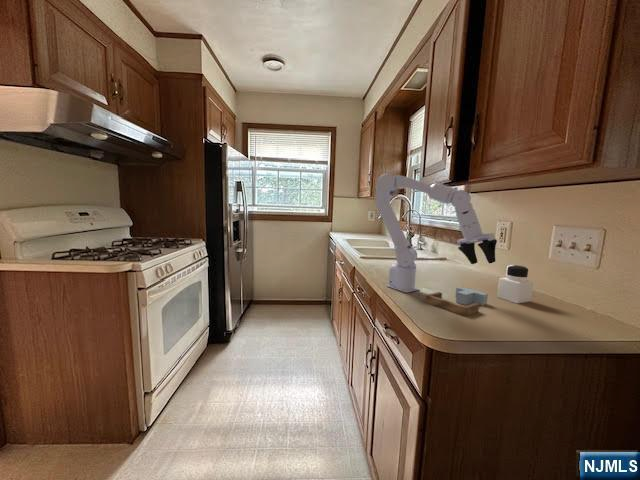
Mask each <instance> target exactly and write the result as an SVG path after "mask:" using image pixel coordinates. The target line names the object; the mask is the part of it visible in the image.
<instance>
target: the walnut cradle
mask: <svg viewBox="0 0 640 480" xmlns="http://www.w3.org/2000/svg"><path fill="white" fill-rule="evenodd" d="M442 297H443V293H442V292H440V291H438V292H437V291H436V292H433V293H429V294H426V295H425V303H427V304H429V305H432V306H435V307H439V308H441V309H443V310H447V311H450V312H452V313H456V314H459V315H461V316H464V317H468V316H471V315H473V314H475V313H479V309H480V308H479V307H480V305H479V304H477V303H470V304H467V305H463V304H460V303H457V302H454V301H449V300H446V299H443V298H442Z"/></svg>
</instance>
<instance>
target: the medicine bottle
mask: <svg viewBox="0 0 640 480" xmlns="http://www.w3.org/2000/svg"><path fill="white" fill-rule="evenodd" d="M505 272H506V273H505V276H506V277H500V278H499V279H498V287H497V295H496V296H497V298H498V299H502V300H505V301H508V302H511V303H514V304H524V303H529V302H532V301H531V300H532V295H533V294H532V293H533V286H534V282H533V281H531V280H528V274H529V269H528V268H527V267H526V266H523V265H517V264H510V265H507V266H506V271H505Z"/></svg>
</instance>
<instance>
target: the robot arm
mask: <svg viewBox="0 0 640 480" xmlns="http://www.w3.org/2000/svg"><path fill="white" fill-rule="evenodd" d="M444 184H445V183H444V182H441V181H439V182H435V183H433V184H428V183H426V182H423V181H419V180H417V179H414V178H411V177H409V176H408V177H407V176H405V175H399V174H391V173H389V172H385V173H382V174H381V175H380V176H379V178H378V179H377V181H376V182H375V198H374V204H375V205H376V208H377V211H378V212H379V215H380V217H381V219H382V221H383V223H384V226H385V228H386V230H387V232H388V234H389V236H390V238H391V241H392V243H393V248H394V252H395V254H396V256H395V259H396V260H395V261H396V262H395V263H393V264H391V266H390V267H389V271H388V283H387V284H386V287H388V288H391V289H394V290H397V291H400V292H403V293H407V294H408V293H411V292H414V291H415V292H416V291H419V290H420V288H419V287H417V286H416V277H417V275H416V274H417V264H416V263H415V261H417V259H418V253H417V250H416V249H415V248H413V247H412V245H411V243H410V241H409V240H408V239H407V237H406V235H405V233H404V231H403V228H402V227H401V225H400V223H399V220H398V218H397V216H396V214H395V211H394V210H393V207H392V205H391V202H390V201H391V199H392V197H393V195H394V194H395V193H396V192H397V190H398V189H399V190H402V189H410V190H411V189H412V190H415V191H419V192H421V193H425V194H427V196H428V198H429V199H431V200H433V201H436V202H440V203H443V204H445V205H448V204H451V205H452V207H454V210H455V213H456V214H455V217H456V219H457V222H458V225H459V228H460V230H461V234H462V236H463V238H459V239H457V240H456V243H457V245H458V248H457V249H458V250H459V251H460V252H462V254H463V255H464V256H465V257H466V258H467V259H468V261H469V263H470V264H471V265H474V264H477V263H478V258H477V255H476V249H475V245H476V244H475V243H477V246H478V247H479V248H480V250H482V253H483V255H484V256H485V259H486V261H487V262H488V264H492V263H496V261H497V260H496V247H497V243H498V240H497V239H496V235H495V232H490V233H483V231H482V227H481V225H480V222H479V219H478V216H477V213H476V210H475V209H474V207H473V204H472V202H471V200H472V199H471V198H472V197H471V195H470V194H469V193H468V191H466V190H461V189H460V190H458V189H459V188H458V187H456V186H455V187H452V186H448V185H444Z"/></svg>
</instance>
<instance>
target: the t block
mask: <svg viewBox="0 0 640 480" xmlns="http://www.w3.org/2000/svg"><path fill="white" fill-rule="evenodd" d="M488 297H489V293H486V292H482V291H479V290H475V289H470V288H468V287H467V288H466V287H464V286H457V287H456V289H455V299H456V300H455V303H456V304H459V305H462V306H467V305H470V304H473V303H477V304H479V306H485V305H487V304H488Z"/></svg>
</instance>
